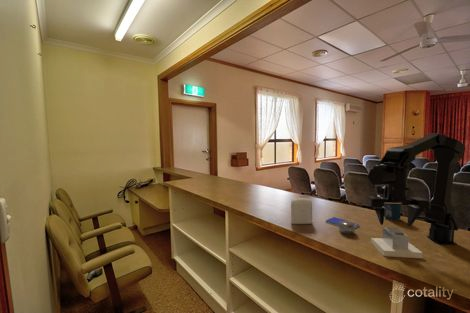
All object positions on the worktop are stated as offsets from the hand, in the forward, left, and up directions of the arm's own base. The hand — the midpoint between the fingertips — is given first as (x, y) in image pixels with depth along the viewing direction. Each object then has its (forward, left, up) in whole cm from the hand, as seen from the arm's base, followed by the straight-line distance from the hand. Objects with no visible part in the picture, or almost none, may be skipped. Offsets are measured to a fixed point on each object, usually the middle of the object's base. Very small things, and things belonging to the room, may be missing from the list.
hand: (395, 225), depth 80 cm
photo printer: (+30, -23, -10) cm, 39 cm away
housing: (0, 0, -7) cm, 7 cm away
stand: (0, 0, -9) cm, 9 cm away
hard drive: (+11, -24, -10) cm, 28 cm away
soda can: (-16, -34, -10) cm, 39 cm away
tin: (+12, -14, -9) cm, 21 cm away
